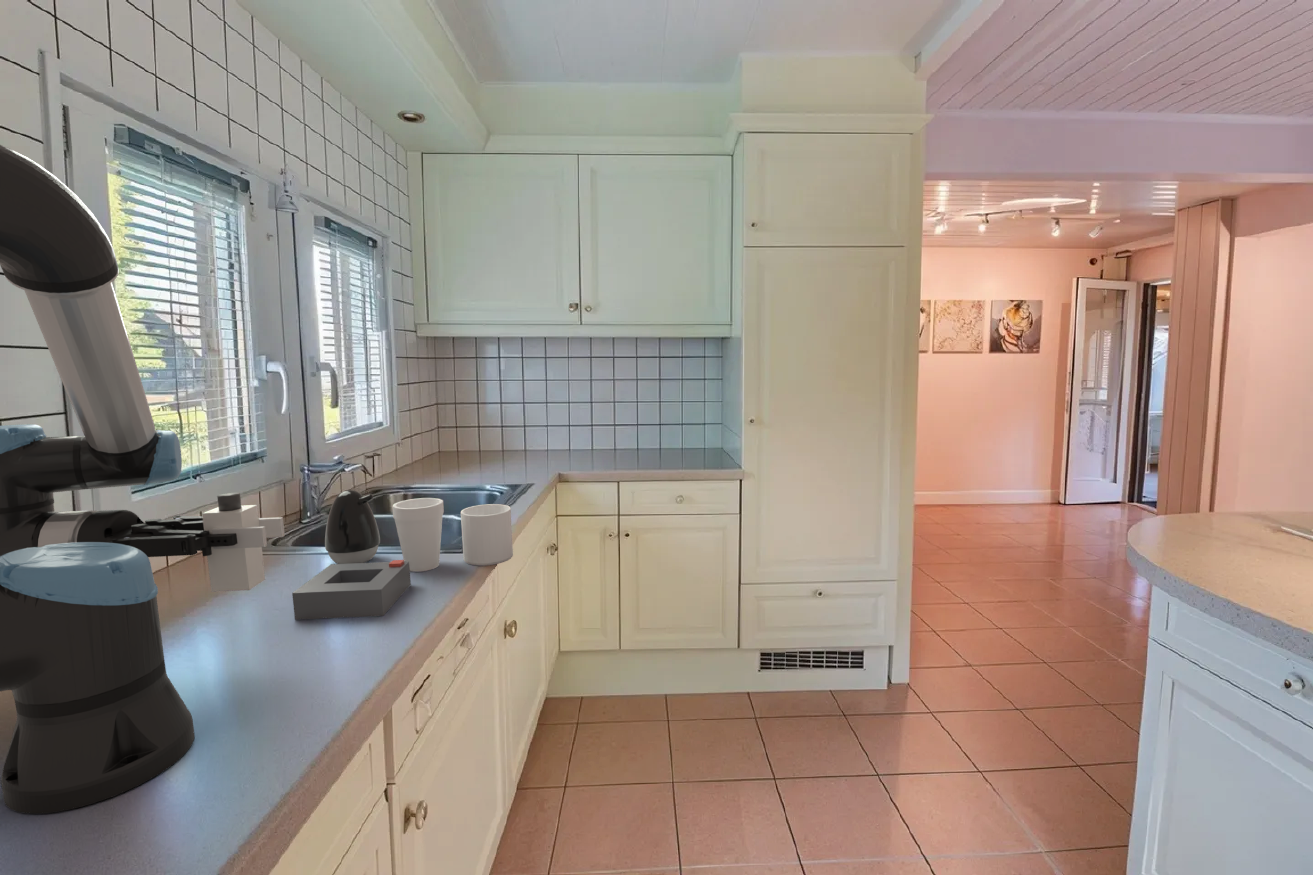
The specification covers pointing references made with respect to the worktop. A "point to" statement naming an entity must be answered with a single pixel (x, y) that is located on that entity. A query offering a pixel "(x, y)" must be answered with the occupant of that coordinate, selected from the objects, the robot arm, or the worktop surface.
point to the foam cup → (419, 531)
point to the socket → (352, 590)
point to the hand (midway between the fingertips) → (273, 531)
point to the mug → (486, 534)
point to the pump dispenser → (351, 529)
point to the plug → (233, 564)
